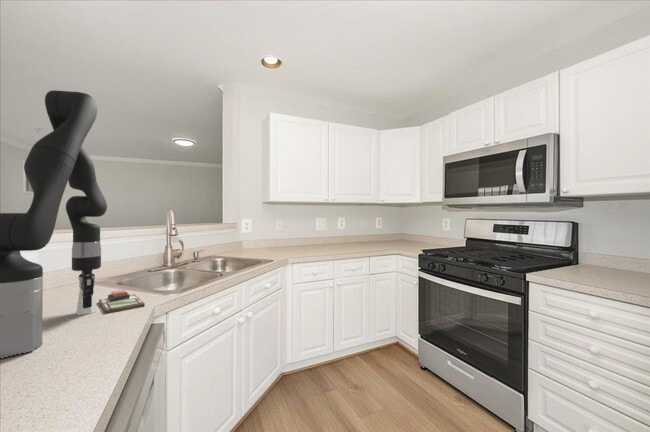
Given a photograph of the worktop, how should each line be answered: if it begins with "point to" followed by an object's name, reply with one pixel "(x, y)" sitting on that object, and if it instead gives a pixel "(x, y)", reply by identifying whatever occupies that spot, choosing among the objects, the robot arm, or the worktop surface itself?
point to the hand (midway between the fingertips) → (86, 305)
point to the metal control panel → (120, 303)
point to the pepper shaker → (80, 304)
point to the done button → (118, 293)
